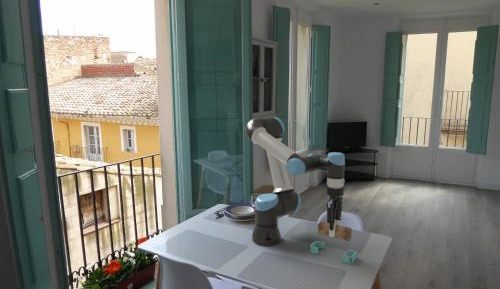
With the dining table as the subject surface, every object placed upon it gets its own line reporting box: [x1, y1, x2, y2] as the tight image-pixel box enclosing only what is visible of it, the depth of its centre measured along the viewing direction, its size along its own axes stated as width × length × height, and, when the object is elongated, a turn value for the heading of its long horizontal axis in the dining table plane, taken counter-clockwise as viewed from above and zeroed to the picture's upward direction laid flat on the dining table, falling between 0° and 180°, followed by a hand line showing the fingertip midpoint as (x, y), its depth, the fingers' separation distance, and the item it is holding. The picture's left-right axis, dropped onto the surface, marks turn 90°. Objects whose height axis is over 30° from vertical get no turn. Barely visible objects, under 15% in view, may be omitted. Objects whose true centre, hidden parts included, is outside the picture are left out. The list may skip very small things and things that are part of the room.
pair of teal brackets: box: [308, 240, 358, 265], centre depth 167 cm, size 21×8×3 cm, turn 54°
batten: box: [317, 221, 353, 242], centre depth 165 cm, size 15×4×5 cm, turn 54°
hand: (333, 234), depth 166 cm, fingers closed on batten, 3 cm apart
